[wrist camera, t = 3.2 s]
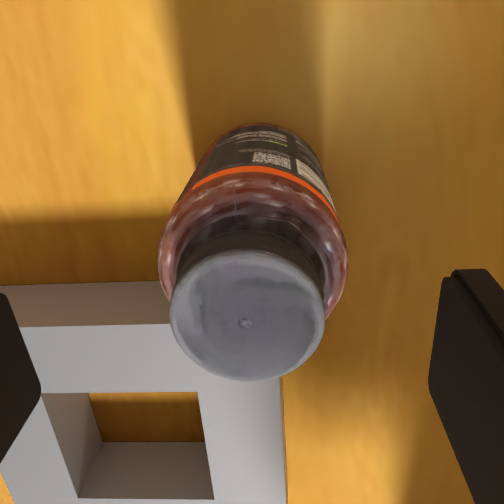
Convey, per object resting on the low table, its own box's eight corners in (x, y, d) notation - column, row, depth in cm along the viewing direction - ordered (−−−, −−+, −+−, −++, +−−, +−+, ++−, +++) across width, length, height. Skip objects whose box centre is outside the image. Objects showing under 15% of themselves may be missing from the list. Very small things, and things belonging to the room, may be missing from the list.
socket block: (276, 276, 23) (275, 321, 20) (287, 484, 30) (288, 544, 27) (-15, 286, 25) (-65, 329, 21) (59, 482, 32) (31, 540, 28)
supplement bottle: (225, 255, 23) (180, 431, 13) (178, 145, 21) (79, 255, 11) (339, 221, 22) (388, 386, 12) (304, 100, 20) (327, 177, 9)
